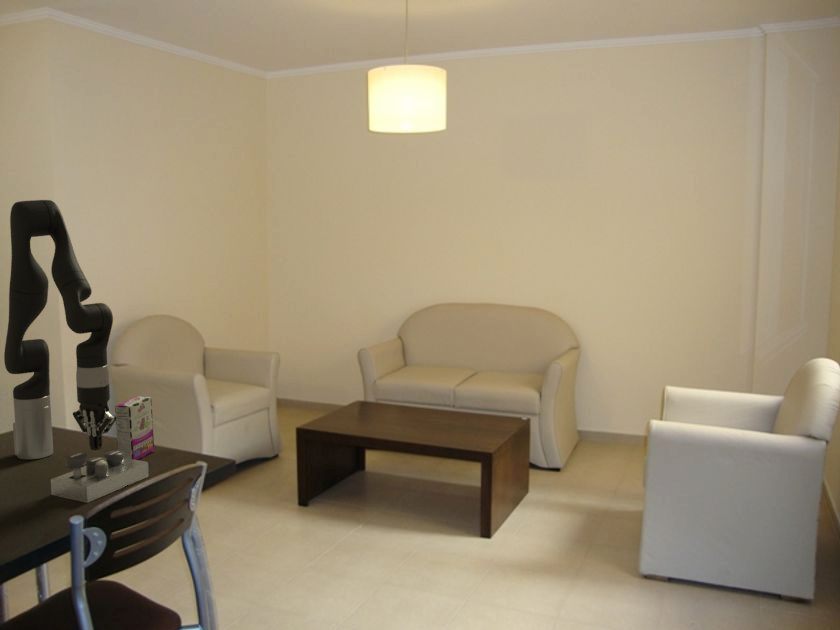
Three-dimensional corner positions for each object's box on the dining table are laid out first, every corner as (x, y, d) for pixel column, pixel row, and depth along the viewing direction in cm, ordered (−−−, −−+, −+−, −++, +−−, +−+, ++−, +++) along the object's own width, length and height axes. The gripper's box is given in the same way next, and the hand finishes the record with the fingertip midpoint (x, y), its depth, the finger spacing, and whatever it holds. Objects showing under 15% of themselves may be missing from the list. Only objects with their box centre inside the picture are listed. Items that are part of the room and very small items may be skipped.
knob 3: (101, 476, 196) (100, 454, 196) (115, 471, 201) (114, 448, 200) (115, 479, 194) (114, 456, 194) (129, 473, 199) (128, 451, 198)
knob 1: (62, 480, 185) (61, 456, 184) (78, 474, 189) (77, 450, 189) (76, 483, 183) (75, 459, 182) (92, 477, 188) (91, 453, 187)
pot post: (92, 477, 186) (92, 463, 186) (102, 473, 189) (101, 459, 188) (101, 478, 185) (101, 465, 185) (111, 475, 188) (110, 461, 187)
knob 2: (82, 484, 191) (81, 460, 190) (97, 478, 195) (96, 455, 194) (96, 487, 189) (95, 463, 188) (111, 481, 193) (110, 458, 193)
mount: (51, 494, 185) (50, 479, 184) (114, 470, 203) (113, 455, 203) (87, 502, 180) (86, 486, 180) (148, 476, 198) (148, 461, 198)
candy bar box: (139, 450, 220) (137, 395, 218) (154, 451, 219) (152, 396, 217) (116, 462, 209) (114, 405, 207) (133, 463, 208) (130, 406, 206)
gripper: (61, 383, 188) (64, 449, 190) (101, 389, 183) (104, 457, 185) (85, 377, 195) (88, 441, 197) (124, 382, 190) (127, 448, 192)
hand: (96, 449), depth 191 cm, fingers closed
